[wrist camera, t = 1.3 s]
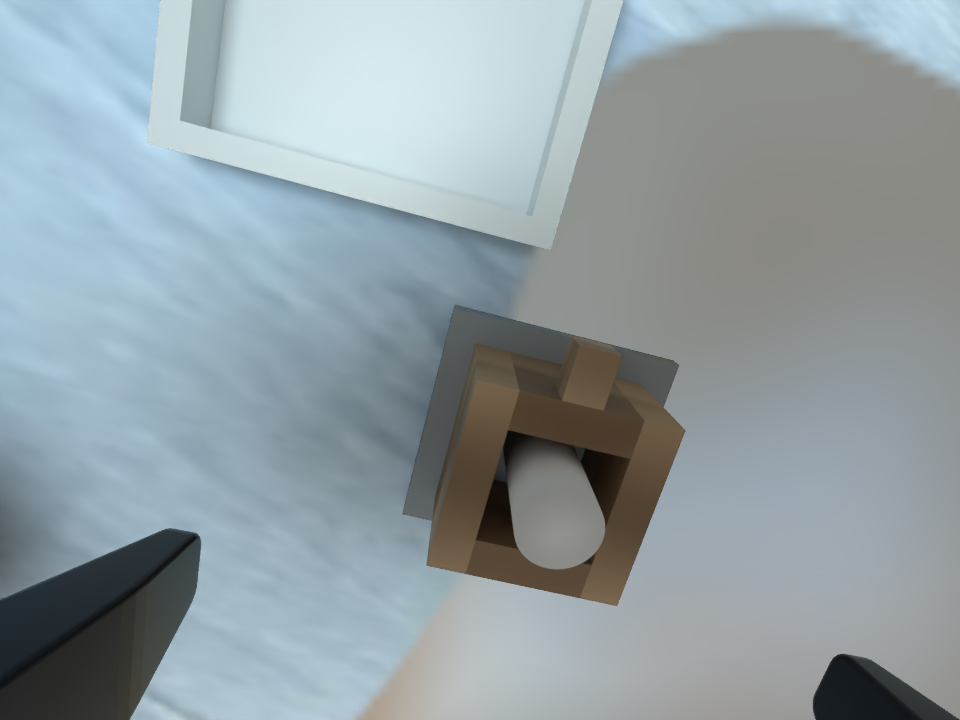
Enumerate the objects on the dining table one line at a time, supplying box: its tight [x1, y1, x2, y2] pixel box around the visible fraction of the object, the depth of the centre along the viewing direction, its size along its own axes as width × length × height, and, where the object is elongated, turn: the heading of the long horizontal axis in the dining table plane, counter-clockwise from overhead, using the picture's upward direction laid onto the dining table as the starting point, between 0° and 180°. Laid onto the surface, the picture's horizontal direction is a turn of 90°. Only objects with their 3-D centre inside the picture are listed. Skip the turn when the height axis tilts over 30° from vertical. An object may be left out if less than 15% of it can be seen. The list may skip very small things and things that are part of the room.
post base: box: [403, 305, 679, 569], centre depth 17 cm, size 8×8×6 cm
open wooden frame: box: [427, 335, 685, 606], centre depth 18 cm, size 8×6×4 cm
